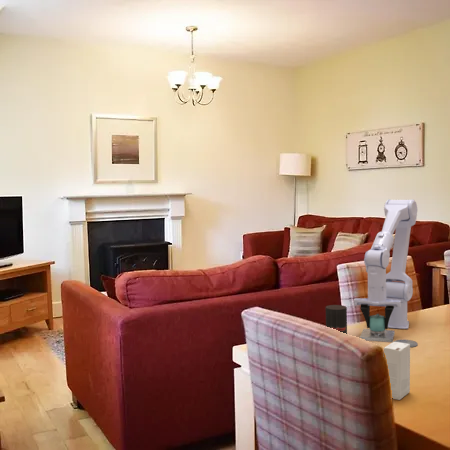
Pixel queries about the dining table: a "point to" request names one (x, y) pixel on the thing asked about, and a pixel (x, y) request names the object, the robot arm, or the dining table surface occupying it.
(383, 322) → the cap
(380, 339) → the post plinth
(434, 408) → the dining table surface
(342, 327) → the deodorant
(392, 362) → the skincare box
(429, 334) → the dining table surface
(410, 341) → the coaster
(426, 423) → the dining table surface
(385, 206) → the robot arm
